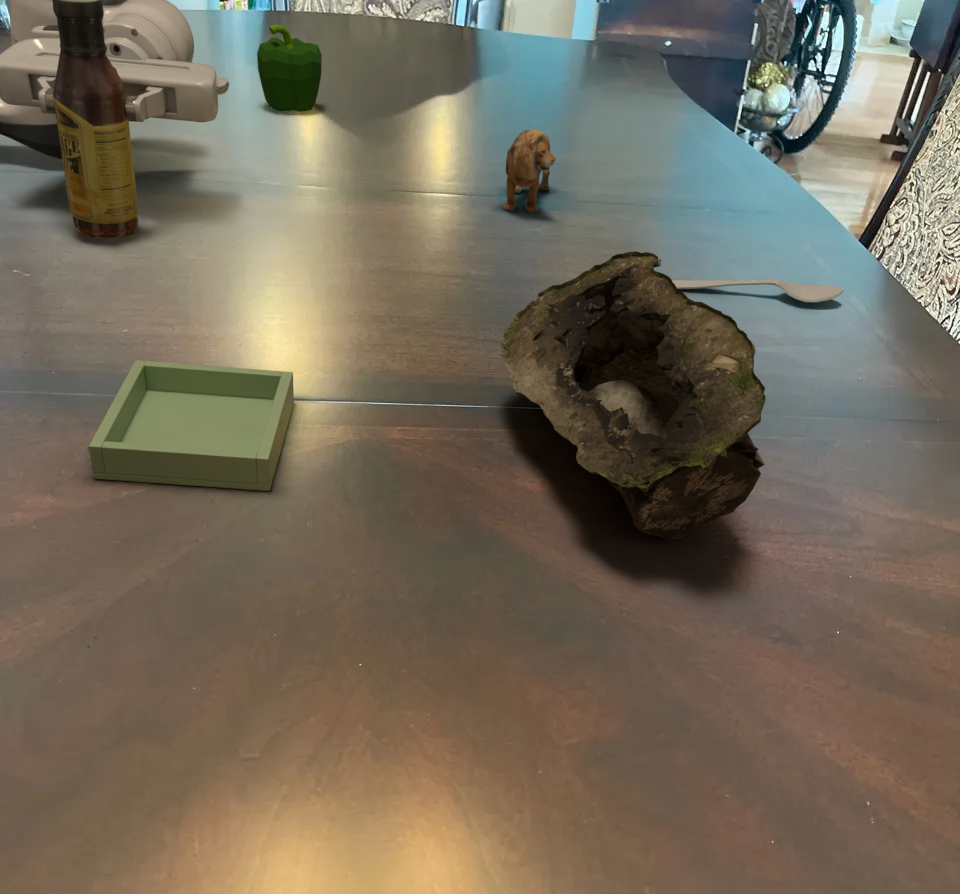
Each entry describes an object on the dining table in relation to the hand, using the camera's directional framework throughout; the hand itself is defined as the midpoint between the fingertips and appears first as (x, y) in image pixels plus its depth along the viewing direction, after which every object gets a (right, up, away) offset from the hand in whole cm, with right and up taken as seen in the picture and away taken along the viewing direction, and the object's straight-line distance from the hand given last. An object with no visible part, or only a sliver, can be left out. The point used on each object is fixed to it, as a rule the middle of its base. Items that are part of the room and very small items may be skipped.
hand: (89, 108), depth 95 cm
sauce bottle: (-1, -8, +7) cm, 11 cm away
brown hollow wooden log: (+45, -36, -18) cm, 60 cm away
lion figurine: (+41, +2, +26) cm, 48 cm away
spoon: (+61, -14, +10) cm, 63 cm away
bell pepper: (+10, +23, +47) cm, 53 cm away
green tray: (+15, -34, -20) cm, 42 cm away
